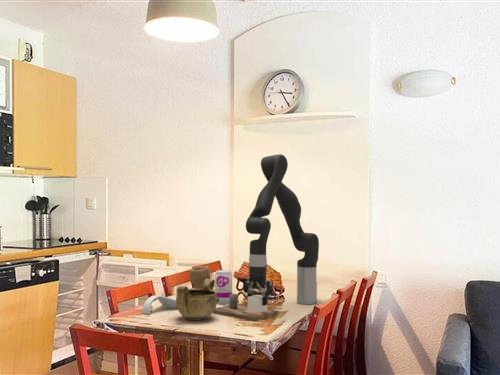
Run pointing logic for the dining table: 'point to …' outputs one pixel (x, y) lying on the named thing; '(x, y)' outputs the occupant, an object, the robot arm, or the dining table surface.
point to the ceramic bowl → (197, 301)
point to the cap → (256, 304)
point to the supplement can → (223, 286)
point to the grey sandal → (166, 302)
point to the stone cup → (199, 276)
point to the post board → (242, 311)
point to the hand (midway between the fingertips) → (257, 304)
